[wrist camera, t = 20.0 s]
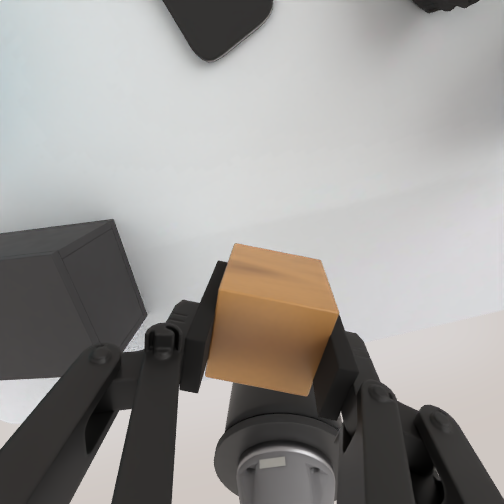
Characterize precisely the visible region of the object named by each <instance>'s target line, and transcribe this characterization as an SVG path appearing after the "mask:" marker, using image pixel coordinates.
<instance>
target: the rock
mask: <svg viewBox="0 0 504 504" xmlns="http://www.w3.org/2000/svg"><path fill="white" fill-rule="evenodd" d="M412 1H413V2H414V3H415V4H416V5H418V6H419V7H420V8H421V9H423V10H425V11H426V12H427V13H432V12H435V11H438V10H443V11H451V10H452V9H454V8H455V7H456V6H459V7H462V8H467V7H468V6H470V5H472V4H474V3H476V2H478V1H479V0H412Z"/></svg>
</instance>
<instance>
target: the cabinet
mask: <svg viewBox="0 0 504 504" xmlns="http://www.w3.org/2000/svg"><path fill="white" fill-rule="evenodd" d="M146 317H147V313H146V310H145V307H144V304H143V302H142V299H141V296H140V293H139V290H138V288H137V285H136V282H135V279H134V276H133V273H132V271H131V268H130V265H129V262H128V259H127V256H126V254H125V251H124V248H123V245H122V242H121V239H120V237H119V234H118V231H117V228H116V225H115V223H114V220H113V219H110V220H103V221H95V222H87V223H79V224H71V225H63V226H56V227H48V228H40V229H32V230H24V231H16V232H9V233H1V234H0V380H16V379H35V378H54V377H62V376H63V374H64V373H65V372H66V371H67V370H68V368H69V367H70V366H71V365H72V364H73V362H74V361H75V360H76V359H77V358H78V357H79V355H80V354H81V353H82V352H83V351H84V350H85V349H87V348H88V347H90V346H92V345H94V344H98V343H112V344H115V345H117V346H118V347H119V348H120V350H121V352H123V351H124V349H125V348H126V346H127V345H128V343H129V342H130V340H131V339H132V337H133V336H134V335H135V333H136V332H137V330H138V329H139V327H140V326H141V324H142V323H143V321H144V320H145V318H146Z"/></svg>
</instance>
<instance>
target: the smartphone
mask: <svg viewBox="0 0 504 504" xmlns="http://www.w3.org/2000/svg"><path fill="white" fill-rule="evenodd" d="M163 2H164V3H165V5H166V7H167V8H168V10H169V12H170V13H171V15H172V17H173V18H174V20H175V22H176V23H177V25H178V27H179V28H180V30H181V32H182V33H183V35H184V37H185V39H186V40H187V42H188V44H189V45H190V47H191V48H192V50H193V51H194V52H195V54H197V55H198V56H199V57H200V58H201V59H202V60H204V61H207V62H213V61H216V60H218V59H220V58H221V57H223V56H224V55H225V54H227V53H228V52H229V51H230V50H232V49H233V48H234V47H235V46H237V45H238V44H239V43H240V42H242V41H243V40H244V39H245V38H246V37H248V36H249V35H250V34H251V33H253V32H254V31H255V30H256V29H258V28H259V27H260V26H261V25H262V24H263V23H264V22H265V21H266V20H267V19H268V17H269V16H270V14H271V11H272V9H273V0H163Z"/></svg>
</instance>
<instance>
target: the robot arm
mask: <svg viewBox="0 0 504 504" xmlns="http://www.w3.org/2000/svg"><path fill="white" fill-rule="evenodd" d="M227 264H228V262H223V261H218V262H217V264H216V267H215V269H214V271H213V274H212V276H211V278H210V281H209V283H208V285H207V288H206V290H205V292H204V295H203V297H202V299H201V302H200V303H197V302H192V301H187V300H182V301H181V302H179V303H178V304H176V305H175V307H174V309H173V311H172V313H171V314H170V316H169V318H168V320H167V321H166V323H158V324H156V325H153V326H151V327H150V328H149V329H148V330H147V331H146V333H145V349H144V350H140V351H135V352H121V350H120V348H119V347H118V346H117V345H115V344H112V343H98V344H94V345H92V346H90V347H88V348H87V349H85V350H84V351H83V352H82V353H81V354H80V355H79V357H78V358H77V359H76V360H75V361H74V362H73V364H72V365H71V366H70V367H69V368H68V370H67V371H66V372H65V373H64V374H63V376H62V377H61V378H60V379H59V380H58V382H57V383H56V384H55V385H54V386H53V387H52V389H51V390H50V391H49V392H48V393H47V395H46V396H45V397H44V398H43V399H42V401H41V402H40V403H39V404H38V405H37V407H36V408H35V409H34V410H33V411H32V412H31V414H30V415H29V416H28V417H27V418H26V420H25V421H24V422H23V423H22V424H21V426H20V427H19V428H18V429H17V430H16V432H15V433H14V434H13V435H12V436H11V437H10V439H9V440H8V441H7V442H6V443H5V445H4V446H3V447H2V448H1V449H0V504H69V503H70V502H71V500H72V498H73V496H74V494H75V492H76V490H77V488H78V486H79V485H80V483H81V481H82V479H83V477H84V475H85V474H86V472H87V470H88V468H89V466H90V464H91V462H92V460H93V459H94V457H95V455H96V453H97V451H98V449H99V447H100V445H101V444H102V442H103V440H104V438H105V436H106V434H107V432H108V431H109V429H110V427H111V425H112V423H113V421H114V419H115V417H116V416H117V414H118V412H119V410H126V409H132V411H131V415H130V420H129V425H128V429H127V434H126V439H125V443H124V448H123V452H122V457H121V461H120V466H119V471H118V476H117V480H116V484H115V489H114V494H113V498H112V503H111V504H171V501H172V486H173V471H174V455H175V439H176V423H177V408H178V391H179V385H180V390H183V391H188V392H193V393H198V391H199V387H200V384H201V381H202V377H203V374H204V370H205V367H206V363H207V360H208V354H209V348H210V342H211V335H212V329H213V323H214V316H215V308H216V302H217V296H218V290H219V287H220V284H221V281H222V278H223V275H224V272H225V269H226V266H227ZM313 385H314V392H315V398H316V405H317V412H318V417H321V418H326V419H331V420H336V421H337V419H338V416H339V414H340V412H341V413H342V417H343V423H342V425H341V427H340V429H339V432H338V434H337V436H336V438H335V441H334V443H335V444H337V442H338V440H339V462H338V486H337V504H504V499H503V498H502V496H501V494H500V492H499V491H498V489H497V487H496V486H495V484H494V482H493V481H492V479H491V478H490V476H489V474H488V473H487V471H486V469H485V468H484V466H483V465H482V463H481V461H480V460H479V458H478V456H477V455H476V453H475V452H474V450H473V448H472V446H471V445H470V443H469V441H468V440H467V438H466V437H465V435H464V433H463V432H462V430H461V428H460V427H459V425H458V424H457V423H456V421H455V420H454V419H453V418H452V417H451V416H450V415H449V414H448V413H446V412H445V411H443V410H442V409H440V408H438V407H435V406H432V405H424V406H423V407H421V409H420V410H419V411H417V410H415V409H413V408H411V407H409V406H406V405H404V404H402V403H400V402H399V401H397V399H396V397H395V395H394V393H393V392H392V391H391V390H390V389H389V388H388V387H387V386H386V385H384V384H382V383H381V382H380V380H379V377H378V375H377V373H376V370H375V368H374V366H373V363H372V361H371V359H370V356H369V353H368V352H367V349H366V346H365V344H364V342H363V340H362V339H361V338H360V337H359V336H358V335H357V334H356V333H352V332H347V331H345V330H344V327H343V324H342V321H341V318H340V315H338V318H337V320H336V323H335V326H334V328H333V331H332V333H331V335H330V337H329V340H328V342H327V345H326V348H325V350H324V353H323V355H322V358H321V361H320V363H319V366H318V368H317V371H316V374H315V376H314V379H313ZM436 470H437V471H436ZM437 472H438V473H437ZM236 479H237V488H238V494H239V500H240V504H334V496H335V476H334V470H333V466H332V463H331V461H330V460H329V458H328V457H327V456H326V455H325V454H324V453H322V452H321V451H320V450H318V449H316V448H314V447H312V446H310V445H307V444H304V443H301V442H296V441H290V440H273V441H267V442H262V443H259V444H257V445H254V446H252V447H250V448H249V449H247V450H246V451H245V452H244V453H243V454H242V455H241V457H240V458H239V461H238V466H237V475H236Z"/></svg>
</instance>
